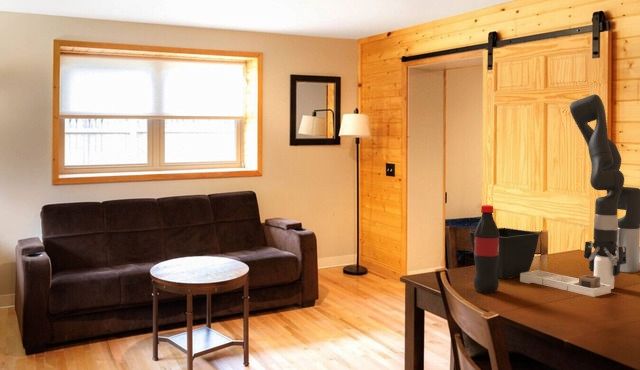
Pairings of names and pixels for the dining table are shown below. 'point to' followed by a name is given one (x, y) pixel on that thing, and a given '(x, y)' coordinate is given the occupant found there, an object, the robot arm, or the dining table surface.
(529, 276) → the dish
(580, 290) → the dish
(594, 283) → the letter cube
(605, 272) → the can
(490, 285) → the cola bottle
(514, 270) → the flower pot
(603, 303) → the dining table surface
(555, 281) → the dish
